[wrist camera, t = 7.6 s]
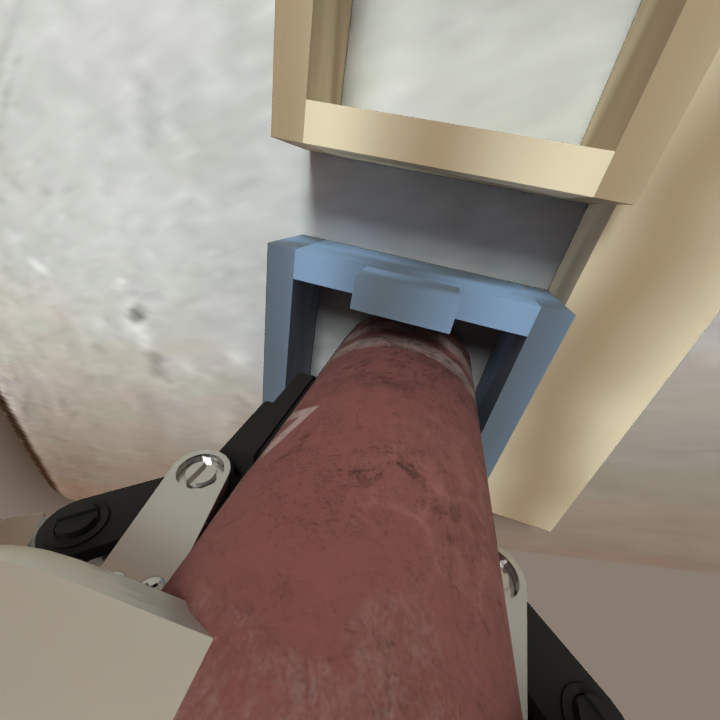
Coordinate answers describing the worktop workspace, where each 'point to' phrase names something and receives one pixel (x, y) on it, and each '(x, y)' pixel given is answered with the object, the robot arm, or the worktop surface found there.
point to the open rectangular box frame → (578, 268)
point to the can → (359, 552)
